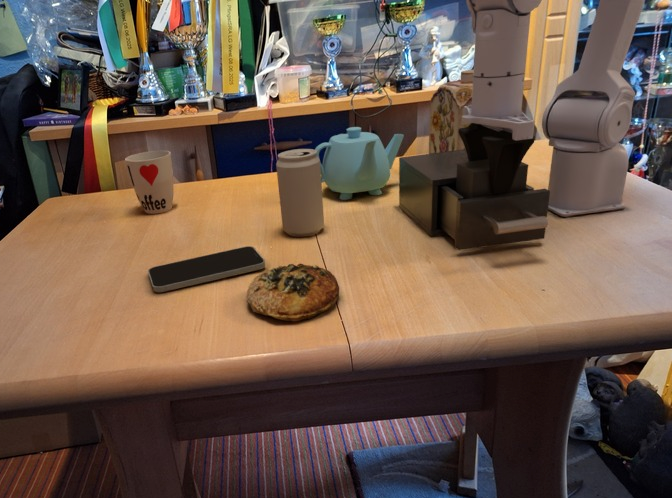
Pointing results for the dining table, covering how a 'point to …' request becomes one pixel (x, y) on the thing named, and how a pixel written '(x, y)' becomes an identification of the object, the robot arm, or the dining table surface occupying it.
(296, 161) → the beverage can
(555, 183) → the robot arm
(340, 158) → the teapot
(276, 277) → the bread roll
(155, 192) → the cup
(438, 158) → the small drawer cabinet
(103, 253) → the dining table surface
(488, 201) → the dark drawer box
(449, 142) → the decorative jar
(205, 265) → the smartphone
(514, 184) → the rectangular block
